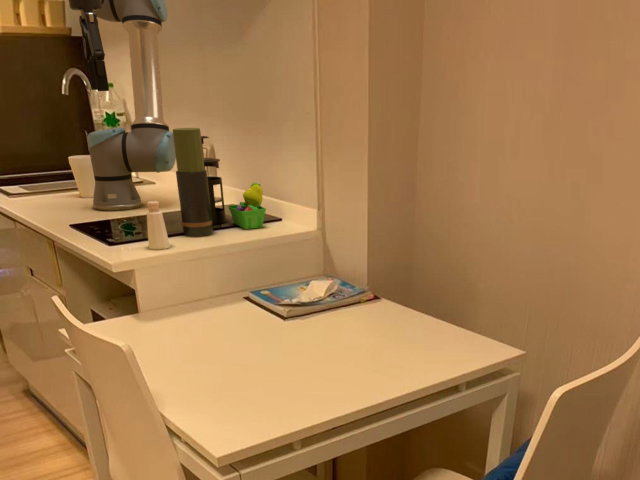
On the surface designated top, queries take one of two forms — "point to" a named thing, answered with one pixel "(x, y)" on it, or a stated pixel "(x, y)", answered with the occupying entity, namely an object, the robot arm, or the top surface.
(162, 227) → the salt shaker
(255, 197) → the fruit basket
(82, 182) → the foam cup
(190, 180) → the flask
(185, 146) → the olive tea canister
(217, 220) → the french press
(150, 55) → the robot arm
